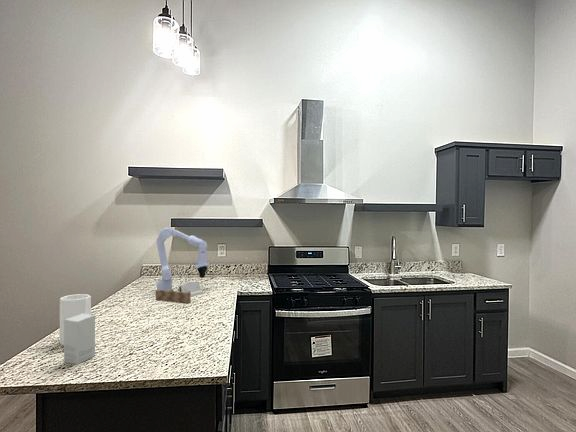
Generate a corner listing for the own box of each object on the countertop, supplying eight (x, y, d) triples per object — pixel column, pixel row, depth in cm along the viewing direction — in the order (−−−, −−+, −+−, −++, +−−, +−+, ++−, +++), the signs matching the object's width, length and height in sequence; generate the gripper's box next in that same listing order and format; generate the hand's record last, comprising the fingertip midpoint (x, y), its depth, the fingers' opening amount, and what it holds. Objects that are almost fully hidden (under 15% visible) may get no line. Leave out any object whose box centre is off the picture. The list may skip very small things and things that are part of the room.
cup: (57, 347, 142) (57, 301, 142) (62, 338, 152) (62, 295, 152) (89, 344, 147) (89, 298, 147) (91, 335, 157) (92, 293, 157)
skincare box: (82, 354, 136) (82, 312, 136) (96, 356, 134) (96, 314, 134) (62, 362, 128) (63, 318, 128) (77, 365, 126) (77, 320, 126)
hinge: (184, 298, 227) (181, 283, 229) (179, 300, 230) (176, 284, 232) (203, 293, 242) (200, 279, 243) (199, 295, 244) (195, 280, 246)
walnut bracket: (155, 299, 223) (155, 290, 223) (165, 296, 231) (165, 287, 231) (188, 303, 215) (188, 293, 215) (196, 300, 223) (197, 290, 223)
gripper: (201, 259, 242) (201, 279, 242) (213, 257, 255) (212, 276, 255) (192, 258, 244) (192, 278, 244) (204, 256, 258) (204, 275, 258)
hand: (202, 277), depth 250 cm, fingers closed
